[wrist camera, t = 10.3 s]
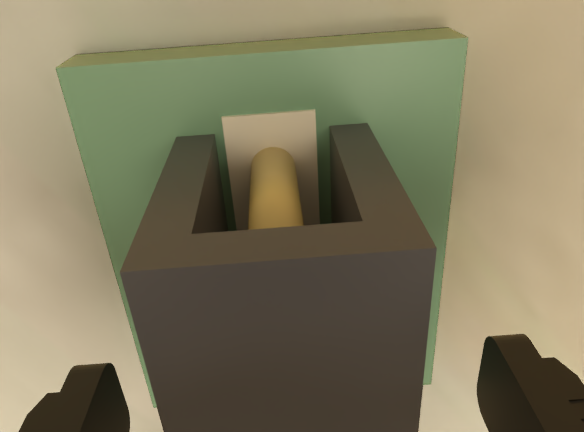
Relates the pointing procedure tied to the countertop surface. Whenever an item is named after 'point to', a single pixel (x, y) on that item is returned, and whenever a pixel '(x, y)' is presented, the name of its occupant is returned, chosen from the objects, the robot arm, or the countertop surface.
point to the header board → (270, 127)
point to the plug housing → (283, 301)
